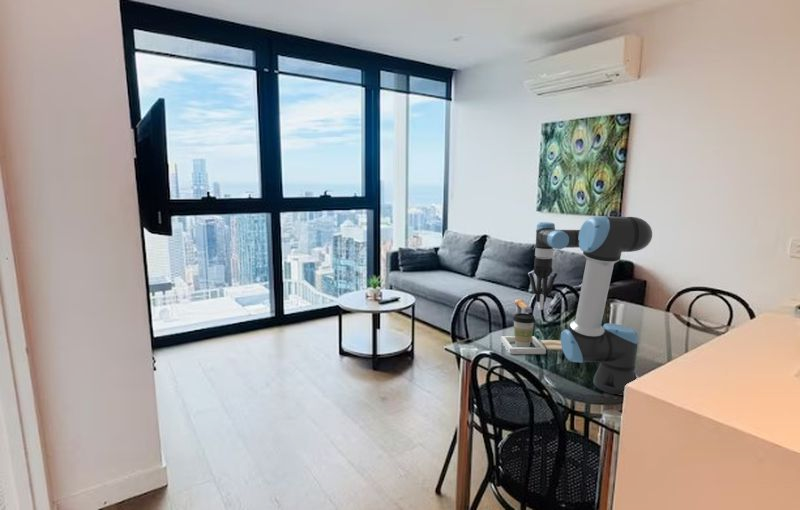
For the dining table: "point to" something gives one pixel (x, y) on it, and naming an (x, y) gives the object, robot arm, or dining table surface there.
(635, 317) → the dining table surface
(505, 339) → the white square frame
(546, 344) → the cork pad
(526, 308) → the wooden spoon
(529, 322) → the coffee cup
